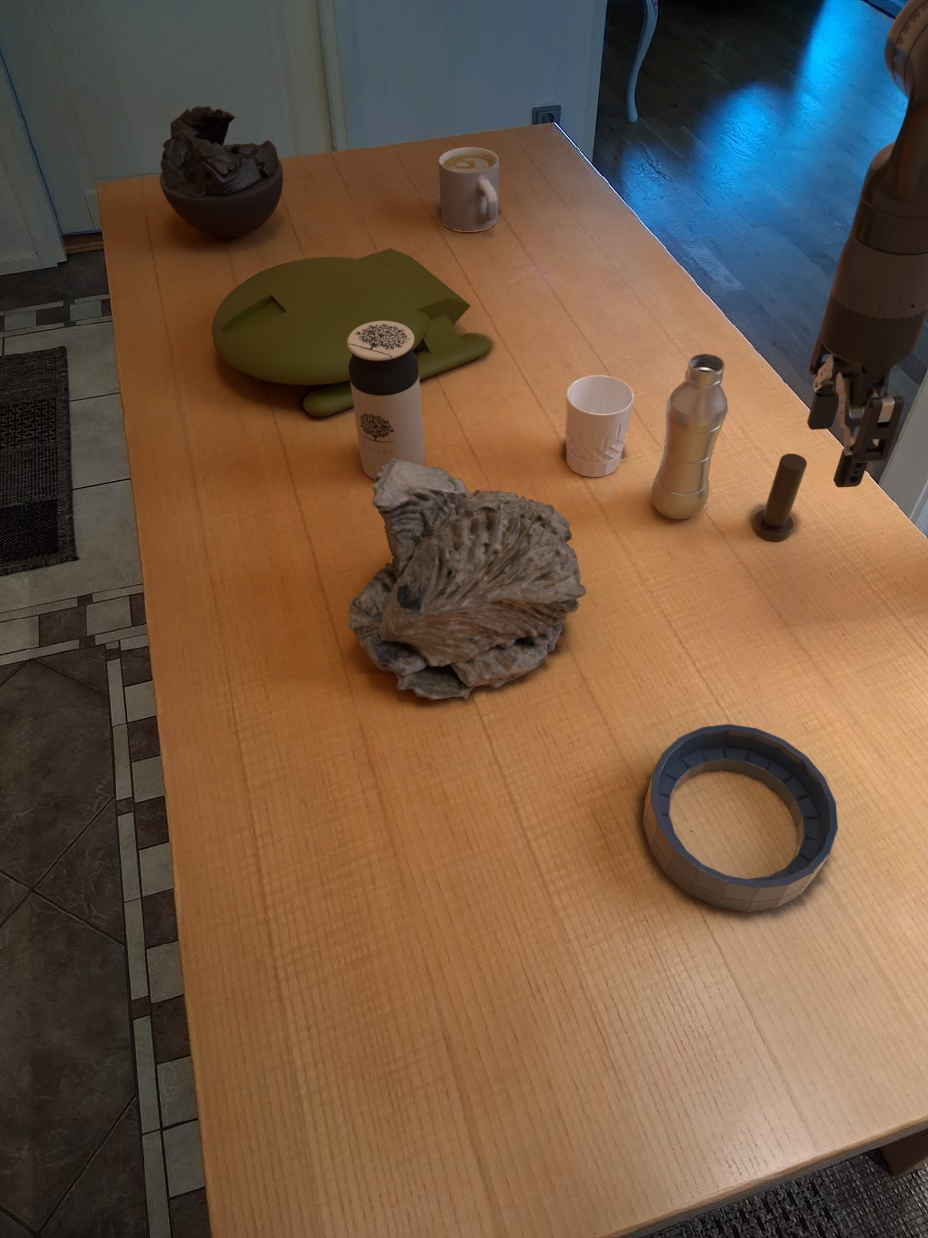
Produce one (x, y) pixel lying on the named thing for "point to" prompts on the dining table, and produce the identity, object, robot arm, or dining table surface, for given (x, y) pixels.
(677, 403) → the plastic bottle
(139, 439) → the dining table surface
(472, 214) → the coffee mug
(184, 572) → the dining table surface
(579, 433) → the white cup
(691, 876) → the faceted gray band ring
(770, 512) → the dark brown peg stand
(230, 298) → the spaceship
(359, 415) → the travel mug
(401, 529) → the rock
